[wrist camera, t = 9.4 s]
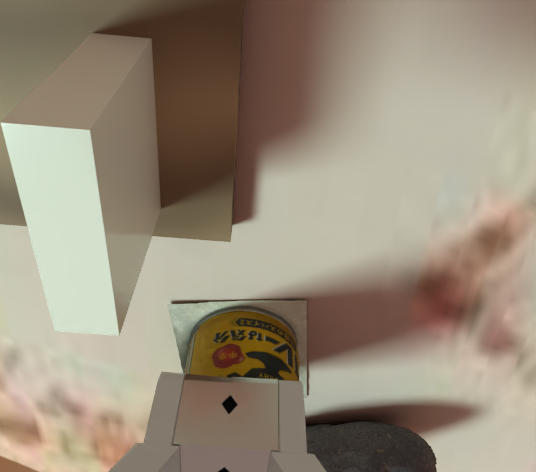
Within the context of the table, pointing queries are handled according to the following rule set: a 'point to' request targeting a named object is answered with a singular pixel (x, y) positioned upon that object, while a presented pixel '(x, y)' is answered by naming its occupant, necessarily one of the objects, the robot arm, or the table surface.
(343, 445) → the perforated stone tool
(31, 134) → the cream tile
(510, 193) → the table surface
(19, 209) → the walnut board
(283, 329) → the condiment
